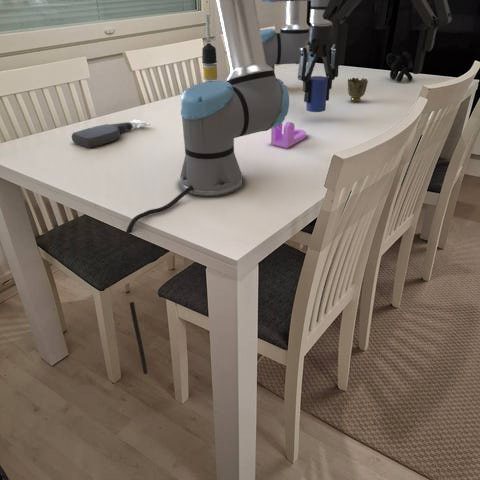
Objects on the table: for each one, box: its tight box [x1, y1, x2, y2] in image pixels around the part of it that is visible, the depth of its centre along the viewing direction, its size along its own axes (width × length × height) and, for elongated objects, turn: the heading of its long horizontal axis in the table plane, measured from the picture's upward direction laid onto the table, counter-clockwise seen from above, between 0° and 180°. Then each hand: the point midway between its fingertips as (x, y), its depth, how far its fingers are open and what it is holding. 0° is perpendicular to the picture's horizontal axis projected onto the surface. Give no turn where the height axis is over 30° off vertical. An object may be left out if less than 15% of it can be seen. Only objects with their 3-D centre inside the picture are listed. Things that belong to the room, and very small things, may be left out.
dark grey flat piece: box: [71, 119, 151, 149], centre depth 142 cm, size 3×11×25 cm
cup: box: [347, 77, 369, 103], centre depth 170 cm, size 8×7×8 cm
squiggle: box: [385, 51, 414, 83], centre depth 198 cm, size 11×10×15 cm
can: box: [305, 75, 328, 113], centre depth 147 cm, size 6×6×10 cm
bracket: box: [270, 121, 307, 149], centre depth 134 cm, size 13×6×7 cm, turn 143°
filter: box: [201, 14, 218, 82], centre depth 171 cm, size 6×6×30 cm
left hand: (376, 68), depth 76 cm, fingers open, 13 cm apart
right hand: (316, 100), depth 149 cm, fingers closed on can, 6 cm apart
